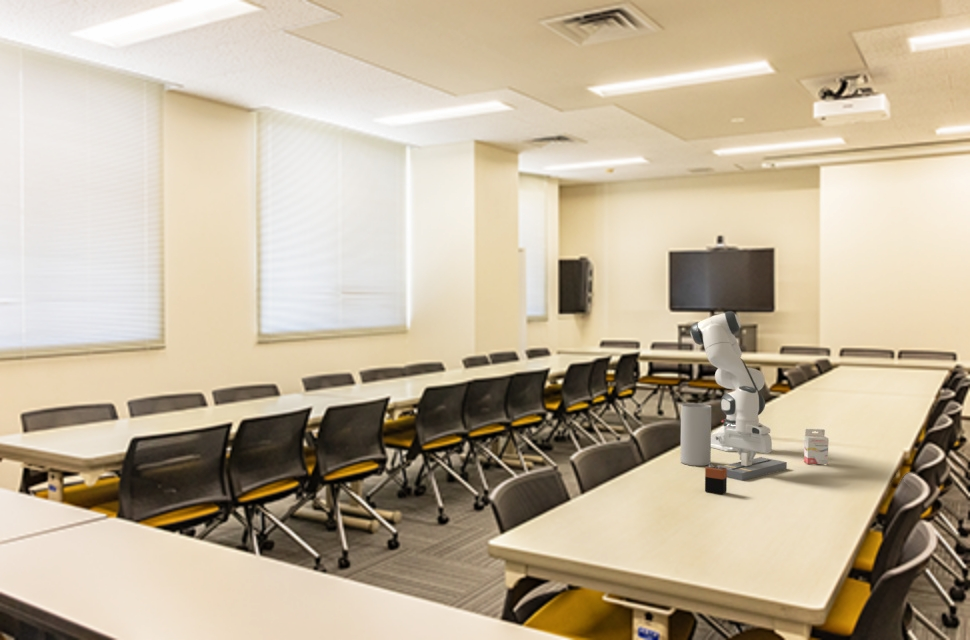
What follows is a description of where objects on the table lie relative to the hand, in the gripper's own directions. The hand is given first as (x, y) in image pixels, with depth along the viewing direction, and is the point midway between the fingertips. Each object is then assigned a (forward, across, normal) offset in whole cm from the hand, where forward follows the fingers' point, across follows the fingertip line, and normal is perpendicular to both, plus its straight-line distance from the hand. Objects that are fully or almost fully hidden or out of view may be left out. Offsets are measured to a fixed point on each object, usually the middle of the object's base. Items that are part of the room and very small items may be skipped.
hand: (746, 460), depth 301 cm
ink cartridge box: (+5, +8, +40) cm, 41 cm away
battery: (+6, +10, -35) cm, 37 cm away
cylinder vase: (+6, -24, -1) cm, 25 cm away
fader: (+4, 0, 0) cm, 4 cm away
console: (+5, 0, +4) cm, 6 cm away
